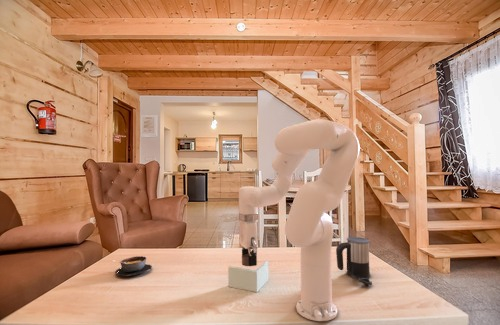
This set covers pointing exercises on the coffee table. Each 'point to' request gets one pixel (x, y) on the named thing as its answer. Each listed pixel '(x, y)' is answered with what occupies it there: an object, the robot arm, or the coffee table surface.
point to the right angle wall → (248, 277)
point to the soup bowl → (133, 266)
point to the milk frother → (355, 258)
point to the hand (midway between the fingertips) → (249, 261)
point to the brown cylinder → (245, 260)
